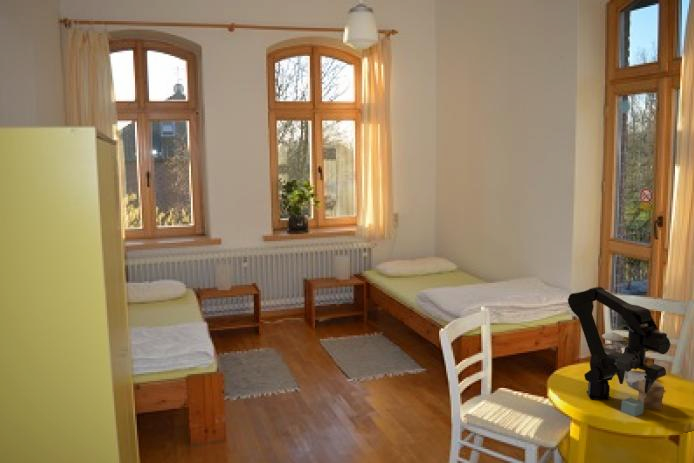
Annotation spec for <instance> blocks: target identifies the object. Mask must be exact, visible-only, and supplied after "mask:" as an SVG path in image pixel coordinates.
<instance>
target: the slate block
mask: <svg viewBox="0 0 694 463" xmlns="http://www.w3.org/2000/svg"><path fill="white" fill-rule="evenodd" d="M644 409H645V408H644V402H641V401H639V400H638V399H635V398H633V397H628V398H626V399H623V400H621V407H620V411H621V412H622V413H624V414H626V415H629V416H631V417H637V416H641V415H642V414H644Z"/></svg>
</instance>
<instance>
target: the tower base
mask: <svg viewBox="0 0 694 463" xmlns="http://www.w3.org/2000/svg"><path fill="white" fill-rule="evenodd" d="M637 400H639V401H641V402H644V408H643V409H655V410H656V409H657V410H658V409H659V410H662V408H663V398H645V397H644V396H643V395H642V394H641V393H640V392H639V391H638V396H637Z"/></svg>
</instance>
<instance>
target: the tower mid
mask: <svg viewBox="0 0 694 463" xmlns="http://www.w3.org/2000/svg"><path fill="white" fill-rule="evenodd" d="M645 381H646V380H639V385H638V390H637V392H638V393H639V392H640V393H641V394H642V395H643V396H644V397H645V398H662V399H664V394H665V393H664V390H665V386H664V385H662V384H661V382H659V381H657V379H656V380H655V382H654V383H653V385H652V386H651V388H650V390H649V391H648V393H645Z"/></svg>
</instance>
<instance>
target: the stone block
mask: <svg viewBox="0 0 694 463" xmlns="http://www.w3.org/2000/svg"><path fill="white" fill-rule="evenodd" d="M645 375H646V374H645V370H631V371H629V372H626V371H625V375H624V381H625V383H627V386H628V387H630V388H632V389H634V390H636V391H638V385H639V380H646V379H645V377H644V376H645Z"/></svg>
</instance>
